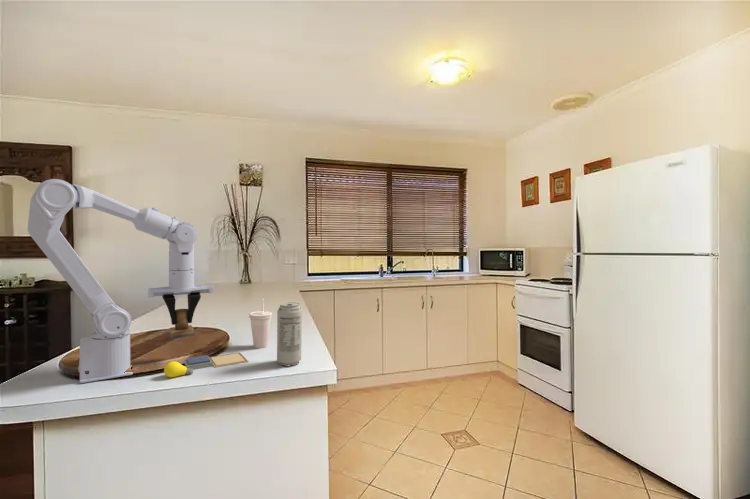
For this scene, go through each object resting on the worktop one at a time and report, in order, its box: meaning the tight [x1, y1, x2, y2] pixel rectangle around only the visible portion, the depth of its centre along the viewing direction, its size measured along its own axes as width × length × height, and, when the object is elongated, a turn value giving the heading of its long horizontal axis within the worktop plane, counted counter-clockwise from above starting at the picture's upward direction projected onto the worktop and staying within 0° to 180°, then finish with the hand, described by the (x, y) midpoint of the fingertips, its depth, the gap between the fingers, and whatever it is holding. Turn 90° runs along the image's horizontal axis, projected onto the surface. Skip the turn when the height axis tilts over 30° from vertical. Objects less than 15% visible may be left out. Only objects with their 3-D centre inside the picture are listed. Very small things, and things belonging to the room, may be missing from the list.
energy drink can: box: [276, 302, 303, 367], centre depth 94 cm, size 6×6×15 cm
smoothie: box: [248, 297, 273, 349], centre depth 107 cm, size 6×6×14 cm
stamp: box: [169, 308, 195, 340], centre depth 95 cm, size 5×5×6 cm
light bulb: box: [163, 360, 194, 379], centre depth 85 cm, size 3×6×4 cm, turn 117°
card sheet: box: [209, 351, 249, 368], centre depth 96 cm, size 8×8×1 cm
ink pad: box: [183, 354, 214, 371], centre depth 92 cm, size 6×6×1 cm
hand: (181, 323), depth 95 cm, fingers closed on stamp, 3 cm apart
